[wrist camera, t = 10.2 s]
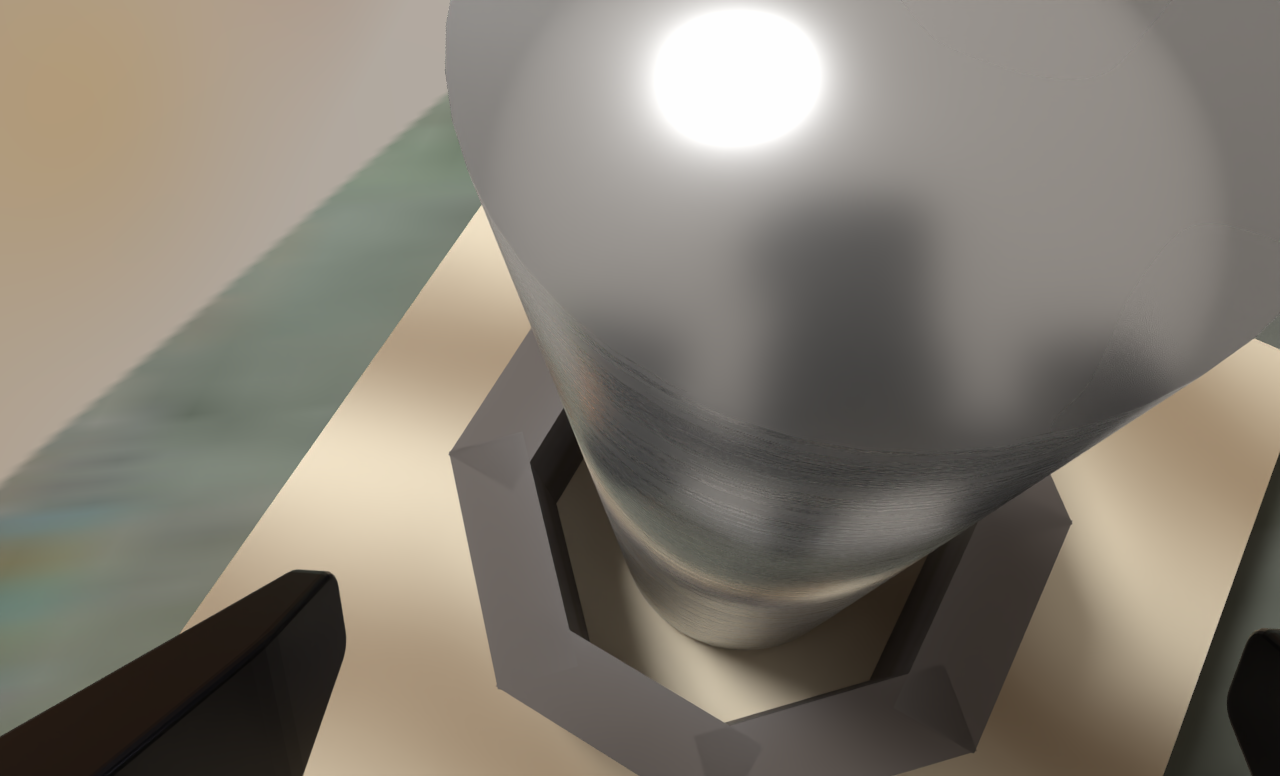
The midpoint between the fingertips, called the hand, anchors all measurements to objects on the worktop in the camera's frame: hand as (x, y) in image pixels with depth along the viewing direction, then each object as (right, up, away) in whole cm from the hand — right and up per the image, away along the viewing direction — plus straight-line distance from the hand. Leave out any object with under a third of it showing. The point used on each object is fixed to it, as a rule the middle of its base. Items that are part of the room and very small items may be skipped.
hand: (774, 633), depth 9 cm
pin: (+1, 0, +8) cm, 8 cm away
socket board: (+1, -1, +9) cm, 9 cm away
